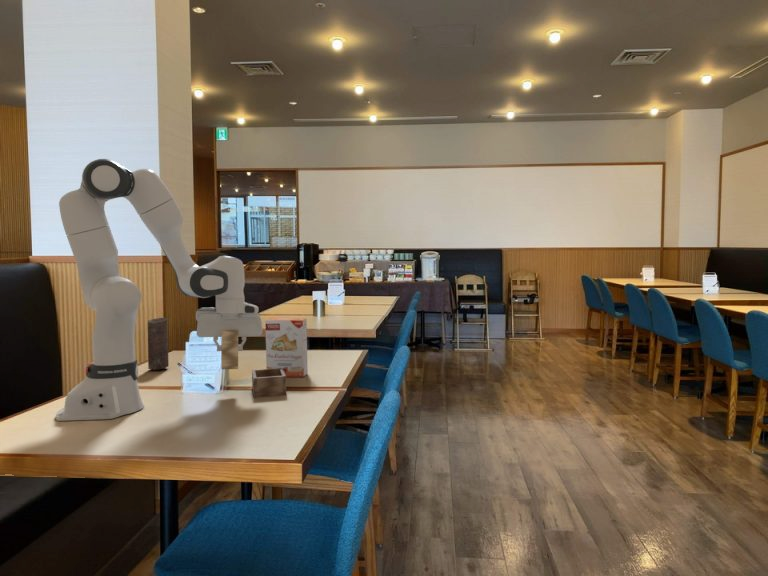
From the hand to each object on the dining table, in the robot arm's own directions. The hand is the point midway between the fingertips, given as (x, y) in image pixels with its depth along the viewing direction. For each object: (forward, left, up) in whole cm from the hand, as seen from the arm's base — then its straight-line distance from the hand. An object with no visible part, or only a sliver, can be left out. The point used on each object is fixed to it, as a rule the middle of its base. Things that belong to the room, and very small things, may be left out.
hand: (229, 350), depth 178 cm
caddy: (+12, 0, -14) cm, 18 cm away
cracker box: (+20, +21, -14) cm, 32 cm away
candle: (-27, +48, -14) cm, 57 cm away
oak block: (0, 0, -5) cm, 5 cm away
